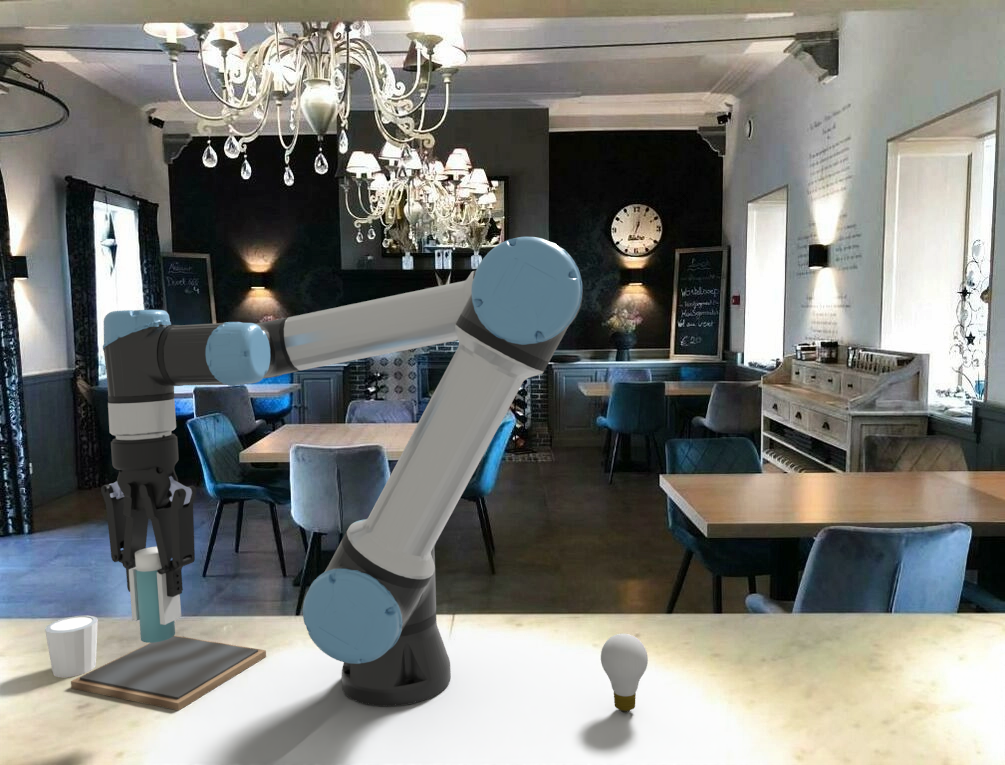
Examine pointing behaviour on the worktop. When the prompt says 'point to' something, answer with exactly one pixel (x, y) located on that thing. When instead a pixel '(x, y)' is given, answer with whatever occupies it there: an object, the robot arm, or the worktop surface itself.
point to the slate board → (169, 671)
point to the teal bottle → (150, 597)
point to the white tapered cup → (72, 645)
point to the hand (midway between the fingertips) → (156, 618)
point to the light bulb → (624, 668)
